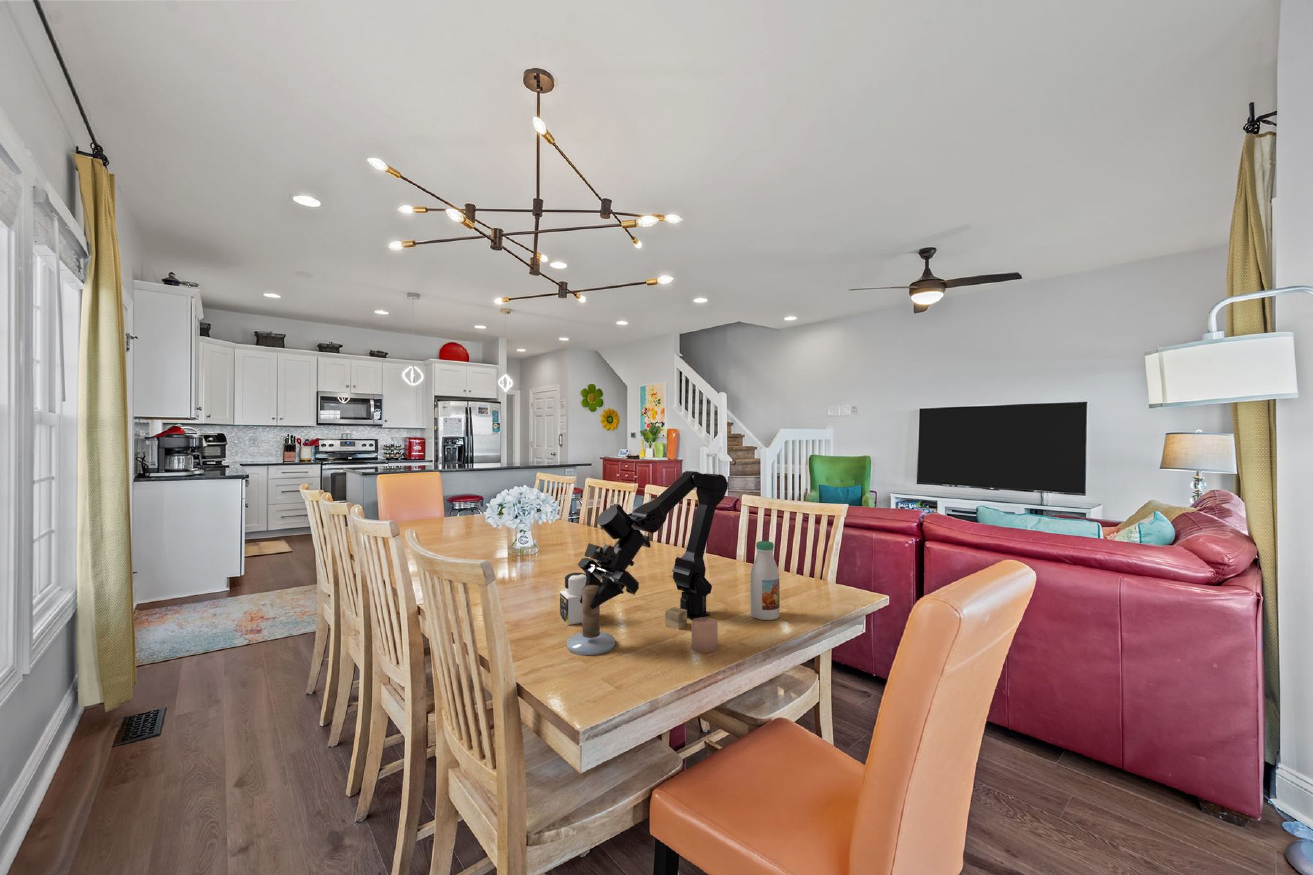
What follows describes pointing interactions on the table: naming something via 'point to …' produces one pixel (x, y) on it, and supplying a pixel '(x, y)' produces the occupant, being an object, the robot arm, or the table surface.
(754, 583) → the milk bottle
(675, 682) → the table surface
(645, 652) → the table surface
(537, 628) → the table surface
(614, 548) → the robot arm
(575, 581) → the medicine bottle
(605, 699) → the table surface
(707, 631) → the short mauve cylinder
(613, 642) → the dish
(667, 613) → the oak block
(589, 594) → the brown cylinder
